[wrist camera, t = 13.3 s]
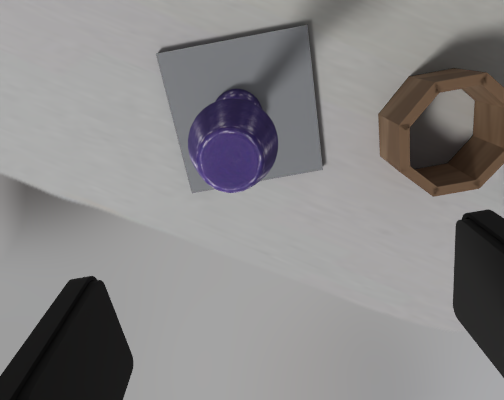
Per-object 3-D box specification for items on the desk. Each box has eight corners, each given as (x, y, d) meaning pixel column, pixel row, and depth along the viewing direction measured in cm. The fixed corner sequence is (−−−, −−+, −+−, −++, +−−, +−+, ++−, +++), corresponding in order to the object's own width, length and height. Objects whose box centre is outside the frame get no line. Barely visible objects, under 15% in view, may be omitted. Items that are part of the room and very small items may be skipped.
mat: (321, 167, 35) (322, 169, 34) (192, 190, 35) (192, 193, 35) (306, 24, 30) (307, 24, 30) (157, 53, 30) (155, 53, 30)
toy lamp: (200, 94, 31) (155, 135, 16) (253, 71, 31) (261, 90, 15) (224, 147, 33) (204, 232, 17) (274, 126, 32) (301, 195, 17)
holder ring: (479, 165, 35) (512, 182, 31) (381, 183, 36) (400, 202, 32) (486, 62, 32) (524, 65, 28) (376, 82, 32) (398, 89, 28)
